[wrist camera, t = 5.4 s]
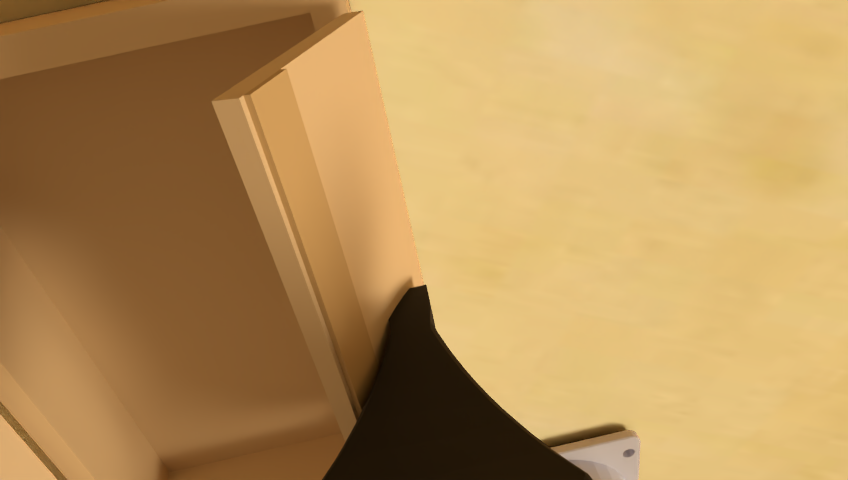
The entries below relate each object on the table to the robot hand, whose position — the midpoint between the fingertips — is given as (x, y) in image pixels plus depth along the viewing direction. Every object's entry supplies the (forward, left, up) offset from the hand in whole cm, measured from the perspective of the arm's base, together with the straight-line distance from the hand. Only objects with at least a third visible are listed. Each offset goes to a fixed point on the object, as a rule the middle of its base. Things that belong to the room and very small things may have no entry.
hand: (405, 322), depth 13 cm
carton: (0, +5, -4) cm, 7 cm away
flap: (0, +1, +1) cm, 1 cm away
